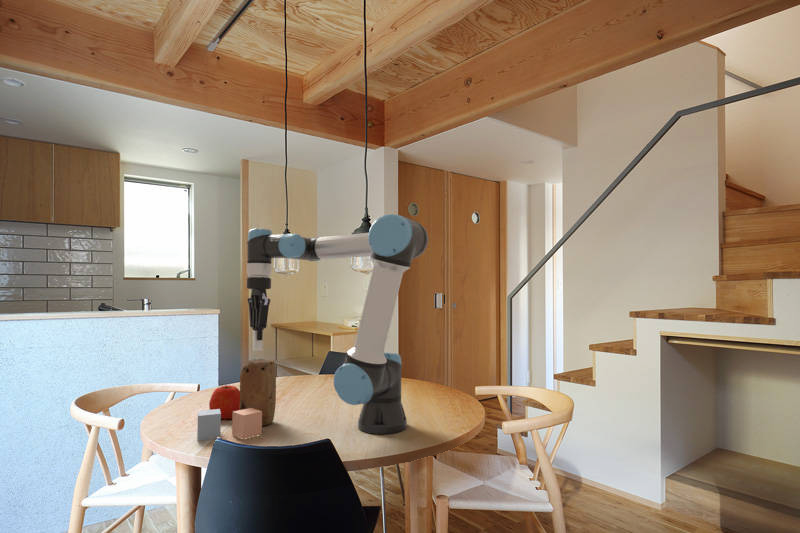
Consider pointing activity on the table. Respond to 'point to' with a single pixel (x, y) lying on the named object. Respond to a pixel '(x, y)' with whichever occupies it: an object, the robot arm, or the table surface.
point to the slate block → (209, 424)
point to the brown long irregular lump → (259, 388)
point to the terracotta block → (246, 423)
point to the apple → (225, 401)
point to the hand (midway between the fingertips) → (257, 350)
